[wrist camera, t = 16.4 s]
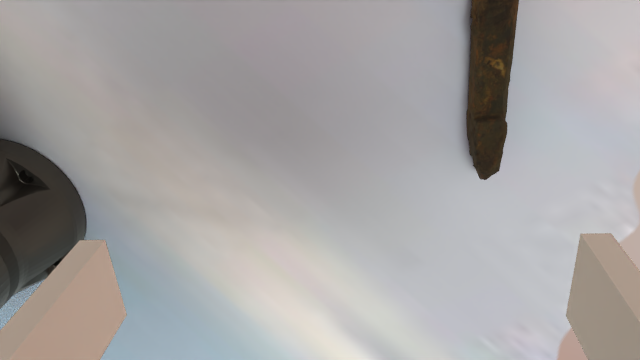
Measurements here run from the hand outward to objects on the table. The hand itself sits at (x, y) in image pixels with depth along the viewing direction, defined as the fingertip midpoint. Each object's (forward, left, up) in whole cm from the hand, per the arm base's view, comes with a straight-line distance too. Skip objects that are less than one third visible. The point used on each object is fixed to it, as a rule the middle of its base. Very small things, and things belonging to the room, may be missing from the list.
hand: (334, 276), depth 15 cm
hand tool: (+11, -3, -32) cm, 34 cm away
